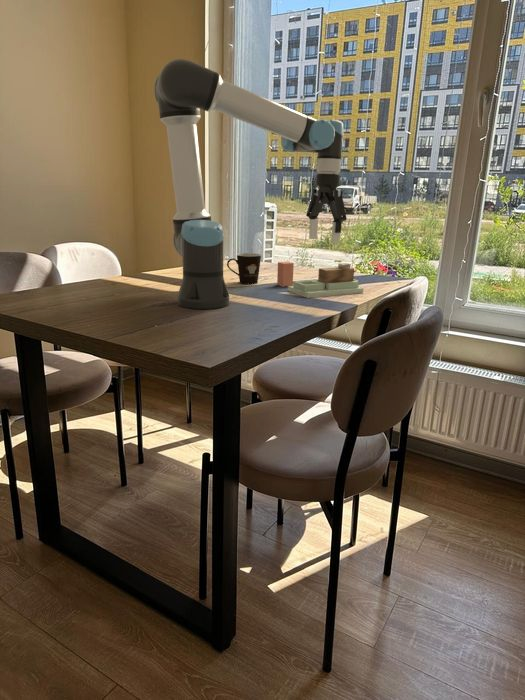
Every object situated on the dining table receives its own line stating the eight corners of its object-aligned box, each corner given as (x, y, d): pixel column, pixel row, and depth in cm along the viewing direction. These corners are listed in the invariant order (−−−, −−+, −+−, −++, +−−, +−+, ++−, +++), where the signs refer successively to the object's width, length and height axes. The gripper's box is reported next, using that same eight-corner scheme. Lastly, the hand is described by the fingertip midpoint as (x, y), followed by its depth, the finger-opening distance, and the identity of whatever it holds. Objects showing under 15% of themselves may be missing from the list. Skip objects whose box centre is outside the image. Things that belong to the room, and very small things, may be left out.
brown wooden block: (324, 288, 169) (326, 265, 167) (317, 286, 173) (319, 263, 171) (352, 286, 174) (354, 264, 171) (345, 284, 178) (347, 262, 175)
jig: (307, 297, 162) (308, 286, 161) (288, 290, 172) (288, 280, 171) (363, 292, 172) (364, 282, 171) (342, 286, 182) (343, 276, 181)
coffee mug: (261, 281, 189) (262, 253, 186) (259, 285, 180) (259, 256, 177) (230, 279, 190) (230, 252, 187) (226, 284, 181) (226, 255, 178)
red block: (282, 286, 179) (283, 263, 177) (277, 284, 182) (277, 262, 180) (292, 286, 181) (293, 263, 178) (286, 284, 184) (287, 261, 182)
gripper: (361, 173, 155) (355, 245, 162) (317, 174, 177) (313, 237, 183) (341, 172, 152) (335, 245, 159) (298, 173, 173) (295, 237, 180)
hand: (323, 241), depth 171 cm, fingers open, 13 cm apart
